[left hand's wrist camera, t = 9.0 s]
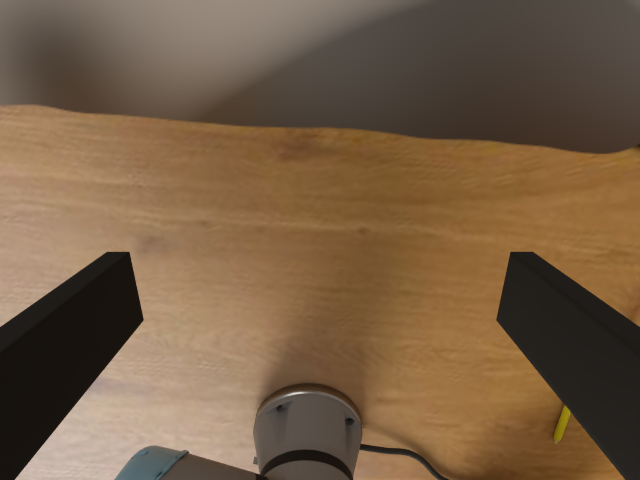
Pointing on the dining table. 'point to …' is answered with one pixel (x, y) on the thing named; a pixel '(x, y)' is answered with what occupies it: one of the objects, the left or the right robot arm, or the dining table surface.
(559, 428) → the pencil
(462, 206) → the dining table surface
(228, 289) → the dining table surface
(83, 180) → the dining table surface
